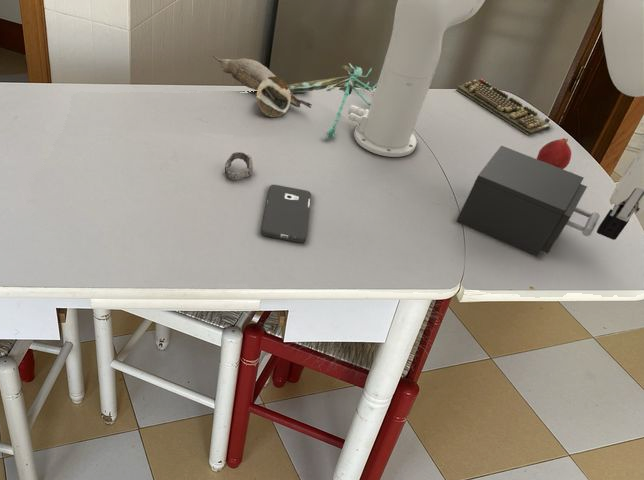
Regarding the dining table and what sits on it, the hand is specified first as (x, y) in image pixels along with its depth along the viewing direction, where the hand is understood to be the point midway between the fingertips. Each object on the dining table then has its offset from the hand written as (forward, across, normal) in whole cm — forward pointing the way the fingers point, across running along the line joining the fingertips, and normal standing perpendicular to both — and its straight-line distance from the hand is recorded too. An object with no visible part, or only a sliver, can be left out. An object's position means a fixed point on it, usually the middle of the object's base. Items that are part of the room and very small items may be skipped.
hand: (606, 234), depth 116 cm
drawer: (+4, 0, -11) cm, 12 cm away
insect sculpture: (+5, 0, -56) cm, 56 cm away
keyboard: (+7, -42, -30) cm, 52 cm away
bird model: (0, -10, -74) cm, 75 cm away
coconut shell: (+2, -3, -66) cm, 66 cm away
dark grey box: (+5, 0, -15) cm, 16 cm away
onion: (+6, -22, -14) cm, 27 cm away
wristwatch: (+4, +21, -63) cm, 66 cm away
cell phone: (+4, +26, -47) cm, 54 cm away
